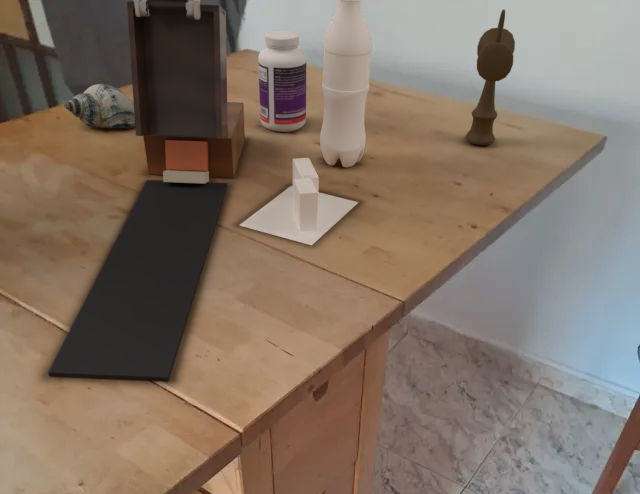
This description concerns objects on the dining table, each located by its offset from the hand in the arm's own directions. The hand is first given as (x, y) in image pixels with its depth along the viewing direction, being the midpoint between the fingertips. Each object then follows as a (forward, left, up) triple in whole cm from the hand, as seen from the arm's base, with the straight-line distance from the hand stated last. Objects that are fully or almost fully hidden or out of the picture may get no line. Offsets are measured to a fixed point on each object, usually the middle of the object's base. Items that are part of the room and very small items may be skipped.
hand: (169, 17), depth 86 cm
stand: (+6, +11, -22) cm, 25 cm away
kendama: (+52, -2, -22) cm, 57 cm away
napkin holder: (+12, -14, -22) cm, 29 cm away
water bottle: (+26, 0, -22) cm, 34 cm away
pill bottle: (+24, +18, -22) cm, 37 cm away
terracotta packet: (+2, +3, -19) cm, 19 cm away
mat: (-11, -19, -22) cm, 31 cm away
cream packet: (0, +1, -20) cm, 20 cm away
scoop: (+3, +6, -8) cm, 11 cm away
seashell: (-4, +30, -22) cm, 37 cm away
